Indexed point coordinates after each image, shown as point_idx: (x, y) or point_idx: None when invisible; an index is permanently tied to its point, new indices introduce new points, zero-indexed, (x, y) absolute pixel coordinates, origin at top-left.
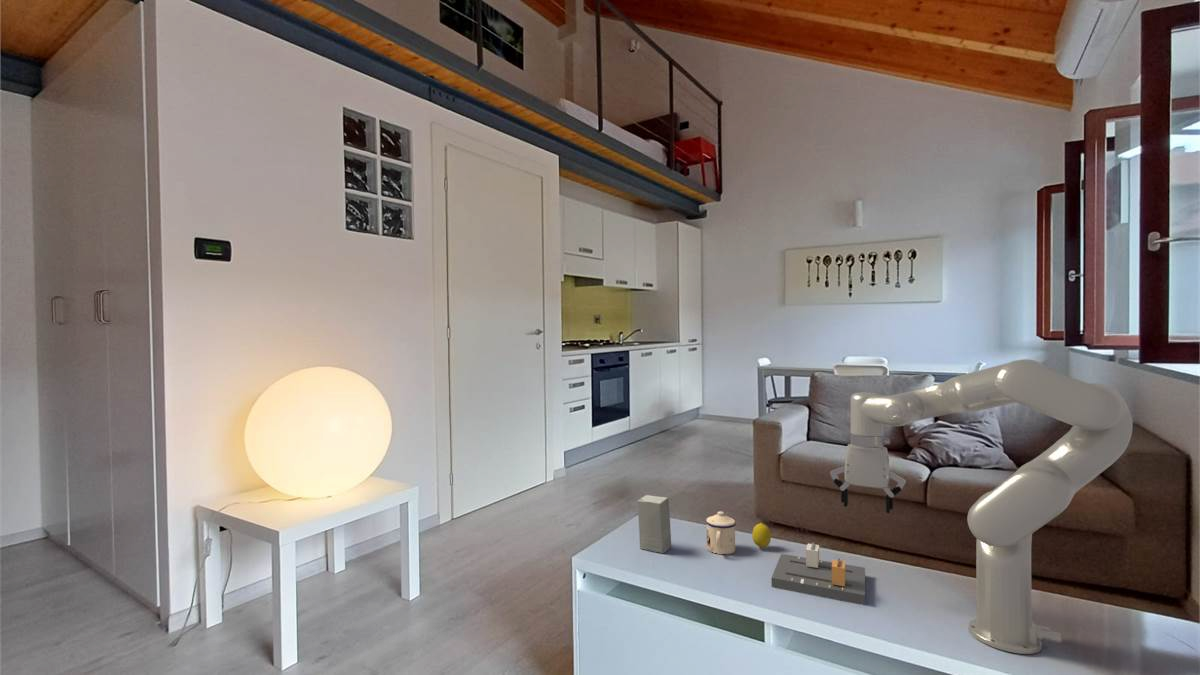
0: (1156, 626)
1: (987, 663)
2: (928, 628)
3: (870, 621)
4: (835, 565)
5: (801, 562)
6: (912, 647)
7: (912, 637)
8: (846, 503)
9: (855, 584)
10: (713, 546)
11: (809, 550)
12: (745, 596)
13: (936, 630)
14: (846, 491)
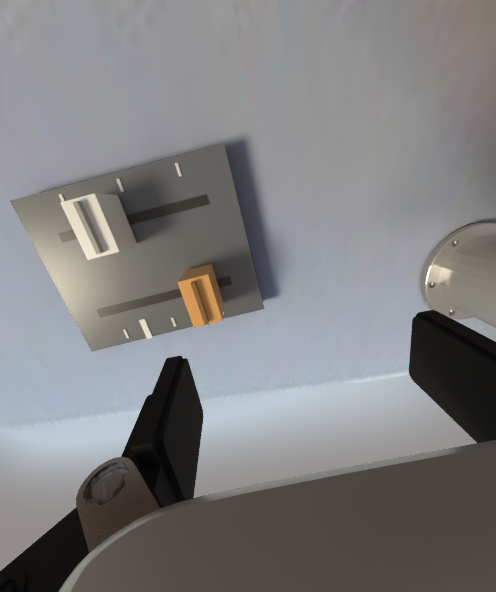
0: None
1: None
2: (362, 314)
3: (282, 349)
4: (198, 316)
5: None
6: (343, 380)
7: (341, 356)
8: (199, 429)
9: (235, 270)
10: None
11: (97, 257)
12: (93, 398)
13: (373, 313)
14: (179, 500)
